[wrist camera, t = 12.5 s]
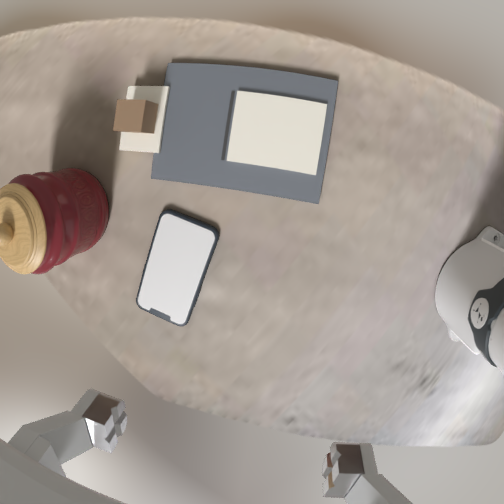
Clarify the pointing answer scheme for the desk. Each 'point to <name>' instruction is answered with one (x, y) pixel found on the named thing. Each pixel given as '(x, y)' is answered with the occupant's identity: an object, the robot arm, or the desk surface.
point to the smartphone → (176, 266)
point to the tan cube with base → (142, 118)
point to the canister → (50, 218)
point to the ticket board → (246, 129)
